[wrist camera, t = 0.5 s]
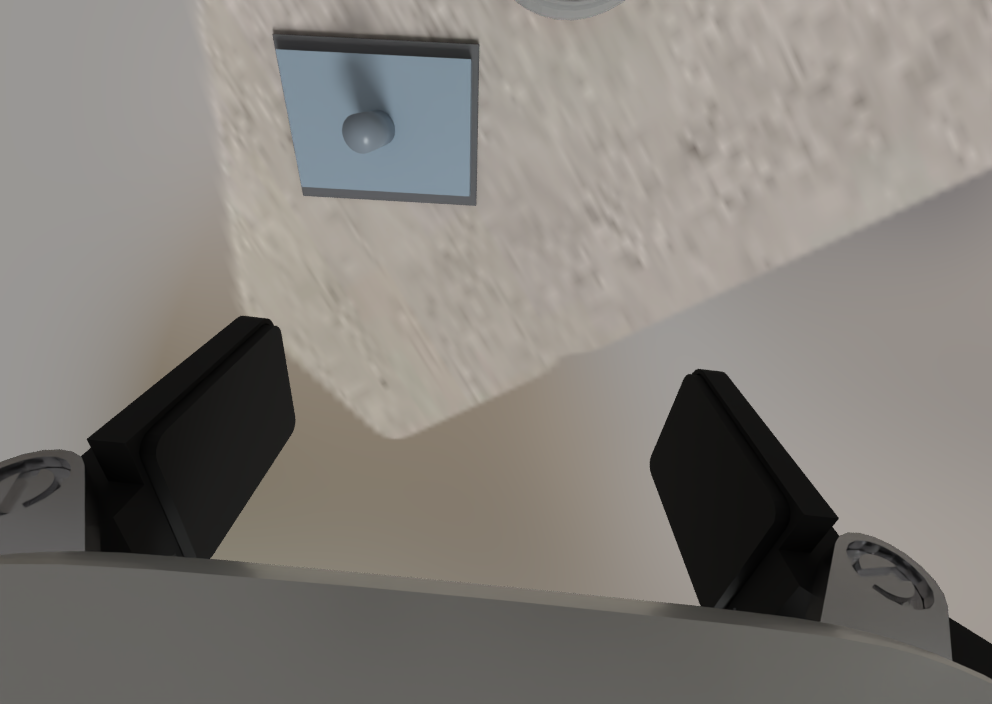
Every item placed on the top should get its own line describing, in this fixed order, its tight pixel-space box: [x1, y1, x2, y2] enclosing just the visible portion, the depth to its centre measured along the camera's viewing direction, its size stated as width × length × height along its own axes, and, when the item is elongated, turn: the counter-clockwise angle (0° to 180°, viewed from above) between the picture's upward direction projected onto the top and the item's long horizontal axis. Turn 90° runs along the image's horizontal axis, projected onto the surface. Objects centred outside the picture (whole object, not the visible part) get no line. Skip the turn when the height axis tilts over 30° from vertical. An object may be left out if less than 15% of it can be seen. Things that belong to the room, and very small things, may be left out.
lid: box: [276, 49, 472, 196], centre depth 33 cm, size 10×15×6 cm, turn 87°
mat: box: [273, 34, 479, 206], centre depth 36 cm, size 12×16×1 cm
